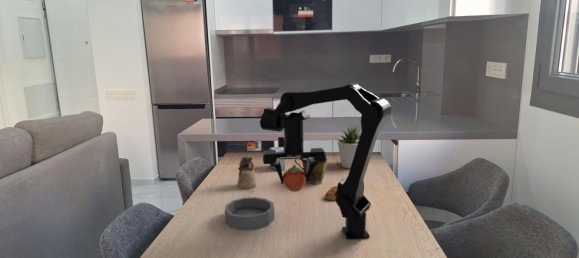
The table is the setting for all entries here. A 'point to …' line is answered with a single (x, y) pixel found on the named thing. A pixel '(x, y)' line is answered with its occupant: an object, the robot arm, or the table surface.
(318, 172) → the ceramic cup
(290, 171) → the tomato
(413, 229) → the table surface
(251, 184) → the figurine
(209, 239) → the table surface
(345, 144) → the potted plant
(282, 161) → the medicine box
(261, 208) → the bowl
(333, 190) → the pastry
